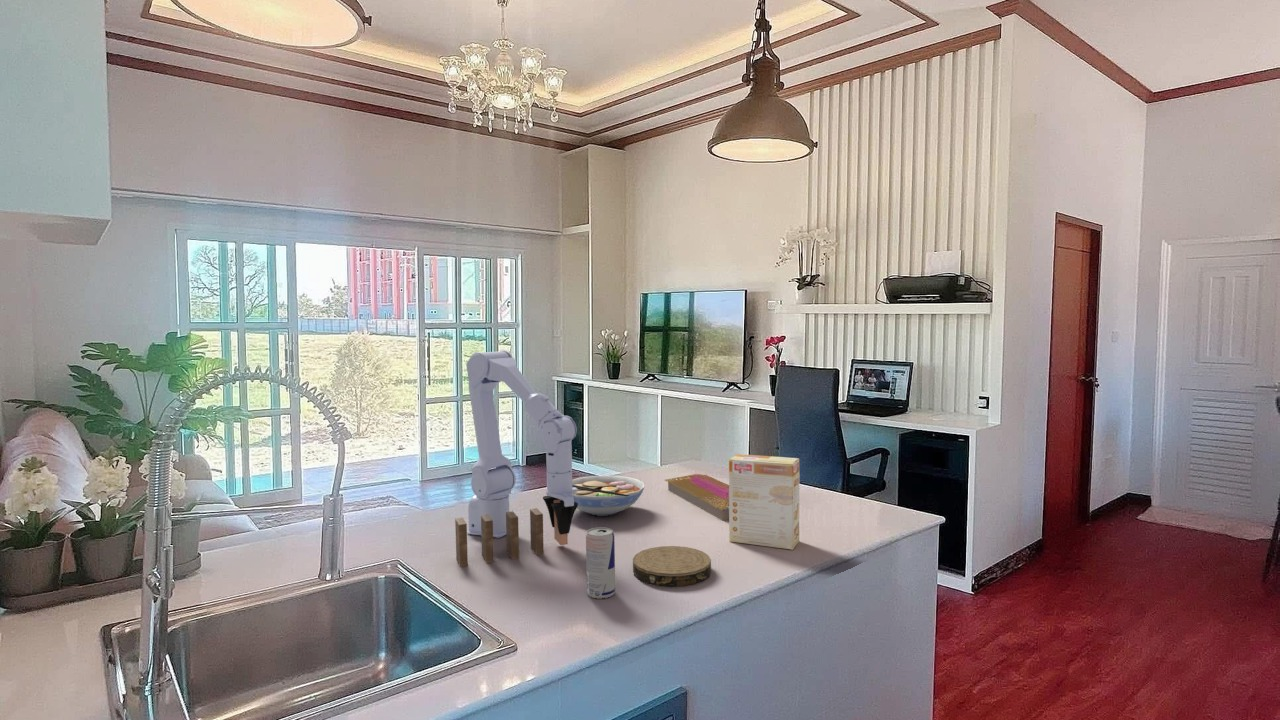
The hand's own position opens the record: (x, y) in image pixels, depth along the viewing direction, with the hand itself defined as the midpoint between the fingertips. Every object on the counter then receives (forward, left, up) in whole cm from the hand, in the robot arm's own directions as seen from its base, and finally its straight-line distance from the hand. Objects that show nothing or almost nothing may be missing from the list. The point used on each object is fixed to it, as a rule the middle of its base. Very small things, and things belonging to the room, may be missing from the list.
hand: (560, 530), depth 156 cm
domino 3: (-8, -8, -4) cm, 12 cm away
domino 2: (-12, -12, -4) cm, 17 cm away
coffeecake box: (+42, +20, -4) cm, 47 cm away
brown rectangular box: (+22, +48, -5) cm, 54 cm away
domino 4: (-4, -4, -4) cm, 7 cm away
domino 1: (-16, -16, -4) cm, 22 cm away
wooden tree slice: (+28, -5, -5) cm, 29 cm away
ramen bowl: (-3, +29, -4) cm, 29 cm away
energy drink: (+19, -20, -4) cm, 29 cm away
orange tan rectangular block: (0, 0, -3) cm, 3 cm away
